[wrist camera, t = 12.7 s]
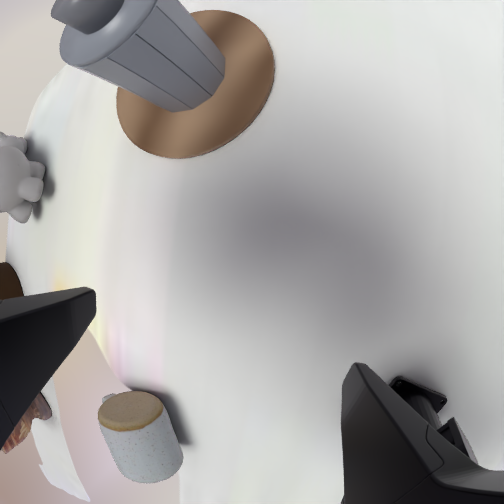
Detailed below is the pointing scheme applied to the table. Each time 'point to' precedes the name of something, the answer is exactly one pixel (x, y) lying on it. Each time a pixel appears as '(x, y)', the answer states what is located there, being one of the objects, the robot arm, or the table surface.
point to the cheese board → (215, 108)
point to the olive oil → (9, 283)
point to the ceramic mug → (140, 436)
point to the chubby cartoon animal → (18, 178)
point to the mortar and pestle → (27, 422)
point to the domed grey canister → (142, 49)
